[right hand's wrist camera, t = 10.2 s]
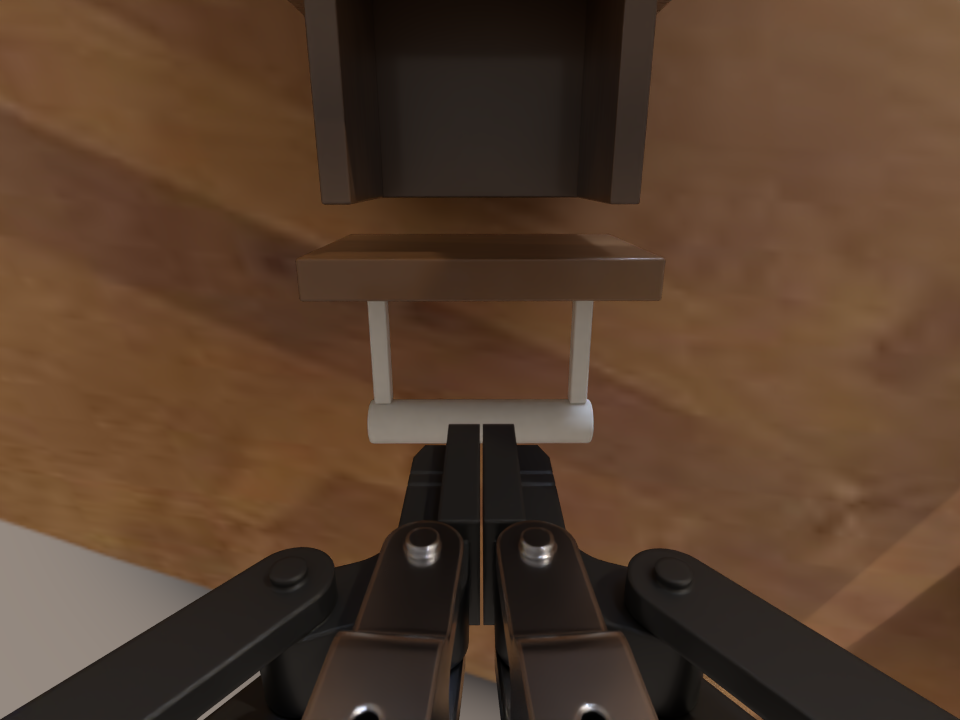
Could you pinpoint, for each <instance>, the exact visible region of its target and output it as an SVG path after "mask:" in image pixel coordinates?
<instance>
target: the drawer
mask: <svg viewBox="0 0 960 720" xmlns="http://www.w3.org/2000/svg"><path fill="white" fill-rule="evenodd" d="M657 1H658V0H303V3H304V14H305V25H306V36H307V47H308V58H309V69H310V80H311V91H312V102H313V113H314V124H315V135H316V146H317V157H318V168H319V179H320V190H321V201H322V204H354V203H358V202H363V201H368V200H372V199H377V198H387V197H579V198H584V199H589V200H594V201H599V202H603V203H608V204H639V202H640V191H641V180H642V169H643V158H644V147H645V135H646V124H647V113H648V102H649V91H650V79H651V68H652V57H653V46H654V35H655V23H656V12H657ZM296 270H297V279H298V288H299V297H300V300H301V301H367V302H368V317H369V331H370V346H371V360H372V375H373V389H374V400H372V401H371V403H370V405H369V410H368V421H367V426H368V436H369V440H370V442H371V443H447V434H448V426H449V424H480V443H483V424H514V427H515V435H516V443H589V442H591V440H592V436H593V429H594V418H593V409H592V405H591V402H590V400H588V399H587V389H588V374H589V359H590V344H591V330H592V315H593V301H659V300H661V298H662V289H663V279H664V270H665V258H663V257H660V256H658V255H656V254H654V253H651V252H649V251H647V250H644V249H642V248H640V247H638V246H635V245H633V244H631V243H629V242H626V241H624V240H622V239H619V238H617V237H615V236H613V235H610V234H351V235H349V236H346V237H344V238H342V239H340V240H337V241H335V242H333V243H331V244H329V245H326V246H324V247H322V248H320V249H317V250H315V251H313V252H311V253H308V254H306V255H304V256H302V257H300V258H297V259H296ZM388 301H573V308H572V326H571V345H570V363H569V382H568V399H393V383H392V366H391V348H390V330H389V313H388Z"/></svg>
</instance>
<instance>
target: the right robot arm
mask: <svg viewBox="0 0 960 720" xmlns="http://www.w3.org/2000/svg"><path fill="white" fill-rule="evenodd" d="M552 472H553V471H552V467H551V463H550V458H549V457H548V455H547V454H546V453H545V452H544V451H543V450H542V449H541V448H540V447H539V446H538V445H517V443H516V435H515V427H514V424H483V623H484V625H495V672H496V681H497V690H498V698H499V707H500V716H501V720H756V719H755V718H754V717H752V716H751V715H750V714H748V713H747V712H746V711H745V710H743V709H742V708H741V707H739V706H738V705H737V704H736V703H734V702H733V701H732V700H730V699H729V698H728V697H727V696H725V695H724V694H723V693H722V692H720V691H719V690H718V689H716V688H715V687H714V686H713V685H711V684H710V683H709V682H707V681H706V680H705V679H704V678H703V674H706V675H707V676H708V677H709V678H711V679H712V680H713V681H715V682H716V683H717V684H719V685H720V686H721V687H722V688H724V689H725V690H726V691H728V692H729V693H730V694H732V695H733V696H734V697H735V698H737V699H738V700H739V701H741V702H742V703H743V704H744V705H746V706H747V707H748V708H750V709H751V710H752V711H754V712H755V713H756V714H757V715H759V716H760V717H761V718H762V719H764V720H960V719H958V718H956V717H955V716H953V715H952V714H950V713H948V712H947V711H945V710H943V709H942V708H940V707H938V706H937V705H935V704H934V703H932V702H930V701H929V700H927V699H925V698H924V697H922V696H920V695H919V694H917V693H915V692H914V691H912V690H911V689H909V688H907V687H906V686H904V685H902V684H901V683H899V682H897V681H896V680H894V679H892V678H891V677H889V676H888V675H886V674H884V673H883V672H881V671H879V670H878V669H876V668H874V667H873V666H871V665H870V664H868V663H866V662H865V661H863V660H861V659H860V658H858V657H856V656H855V655H853V654H851V653H850V652H848V651H847V650H845V649H843V648H842V647H840V646H838V645H837V644H835V643H833V642H832V641H830V640H828V639H827V638H825V637H824V636H822V635H820V634H819V633H817V632H815V631H814V630H812V629H810V628H809V627H807V626H805V625H804V624H802V623H801V622H799V621H797V620H796V619H794V618H792V617H791V616H789V615H787V614H786V613H784V612H783V611H781V610H779V609H778V608H776V607H774V606H773V605H771V604H769V603H768V602H766V601H764V600H763V599H761V598H760V597H758V596H756V595H755V594H753V593H751V592H750V591H748V590H746V589H745V588H743V587H741V586H740V585H738V584H737V583H735V582H733V581H732V580H730V579H728V578H727V577H725V576H723V575H722V574H720V573H719V572H717V571H715V570H714V569H712V568H710V567H709V566H707V565H705V564H704V563H702V562H700V561H699V560H697V559H695V558H693V557H692V556H690V555H687V554H685V553H682V552H679V551H676V550H670V549H661V548H658V549H649V550H645V551H642V552H640V553H638V554H636V555H635V556H634V557H633V558H632V559H631V560H630V562H629V564H628V567H626V566H621V565H617V564H613V563H609V562H605V561H602V560H598V559H596V558H593V557H591V556H589V555H587V554H586V553H584V552H583V551H581V550H580V549H579V548H578V546H577V543H576V541H575V539H574V538H573V537H572V535H571V534H570V533H569V532H568V531H566V529H565V525H564V520H563V516H562V511H561V507H560V502H559V498H558V494H557V489H556V486H555V480H554V476H553V473H552ZM469 625H480V424H449V426H448V434H447V443H446V445H425V446H424V447H423V448H422V449H421V450H420V451H419V452H418V453H417V454H416V455H415V456H414V458H413V462H412V467H411V471H410V476H409V481H408V486H407V490H406V495H405V499H404V504H403V508H402V513H401V518H400V522H399V527H398V528H397V529H395V530H394V531H392V532H391V533H390V534H389V535H388V537H387V538H386V539H385V541H384V543H383V546H382V548H381V551H380V553H379V554H377V555H375V556H373V557H371V558H368V559H366V560H363V561H360V562H356V563H352V564H348V565H343V566H339V567H335V568H334V563H333V561H332V559H331V558H330V556H328V555H327V554H326V553H324V552H323V551H321V550H318V549H315V548H309V547H298V548H290V549H286V550H282V551H279V552H277V553H274V554H272V555H270V556H268V557H266V558H264V559H263V560H261V561H260V562H258V563H256V564H255V565H253V566H251V567H250V568H248V569H246V570H245V571H243V572H242V573H240V574H238V575H237V576H235V577H233V578H232V579H230V580H228V581H227V582H225V583H223V584H222V585H220V586H219V587H217V588H215V589H214V590H212V591H210V592H209V593H207V594H205V595H204V596H202V597H200V598H199V599H197V600H196V601H194V602H192V603H191V604H189V605H187V606H186V607H184V608H183V609H181V610H179V611H178V612H176V613H174V614H173V615H171V616H169V617H168V618H166V619H164V620H163V621H161V622H159V623H158V624H156V625H155V626H153V627H151V628H150V629H148V630H146V631H145V632H143V633H141V634H140V635H138V636H136V637H135V638H133V639H132V640H130V641H128V642H127V643H125V644H123V645H122V646H120V647H119V648H117V649H115V650H113V651H112V652H110V653H109V654H107V655H105V656H104V657H102V658H100V659H99V660H97V661H95V662H94V663H92V664H91V665H89V666H87V667H86V668H84V669H82V670H81V671H79V672H77V673H76V674H74V675H72V676H71V677H69V678H68V679H66V680H64V681H63V682H61V683H59V684H58V685H56V686H54V687H53V688H51V689H50V690H48V691H46V692H45V693H43V694H41V695H40V696H38V697H36V698H35V699H33V700H31V701H30V702H28V703H27V704H25V705H23V706H22V707H20V708H18V709H17V710H15V711H13V712H12V713H10V714H8V715H7V716H5V717H4V718H2V719H0V720H197V719H198V718H199V717H200V716H201V715H203V714H204V713H205V712H206V711H208V710H209V709H210V708H212V707H213V706H214V705H216V704H217V703H218V702H219V701H221V700H222V699H223V698H225V697H226V696H227V695H228V694H230V693H231V692H232V691H234V690H235V689H236V688H238V687H239V686H240V685H241V684H243V683H244V682H245V681H247V680H248V679H249V678H251V677H252V676H253V675H254V674H256V673H257V672H258V671H260V674H261V675H260V676H259V677H258V678H256V679H255V680H254V681H253V682H251V683H250V684H249V685H248V686H246V687H245V688H244V689H242V690H241V691H240V692H239V693H237V694H236V695H235V696H233V697H232V698H231V699H230V700H228V701H227V702H226V703H224V704H223V705H222V706H221V707H219V708H218V709H217V710H215V711H214V712H213V713H212V714H210V715H209V716H208V717H206V718H205V719H204V720H459V716H460V707H461V698H462V690H463V681H464V672H465V654H466V652H467V649H468V643H469Z"/></svg>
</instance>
